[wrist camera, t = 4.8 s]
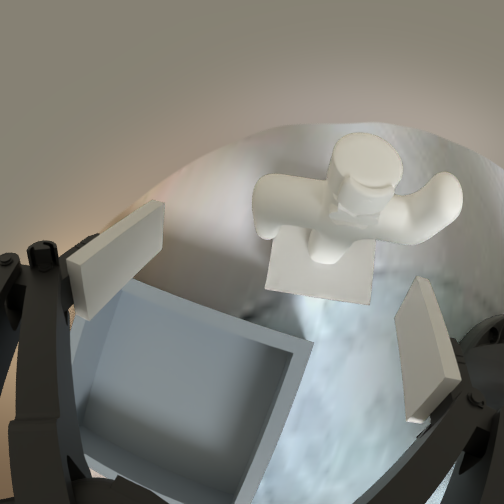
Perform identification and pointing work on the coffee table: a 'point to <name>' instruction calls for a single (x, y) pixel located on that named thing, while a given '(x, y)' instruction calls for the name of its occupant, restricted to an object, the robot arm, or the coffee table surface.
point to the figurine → (346, 219)
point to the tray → (182, 395)
